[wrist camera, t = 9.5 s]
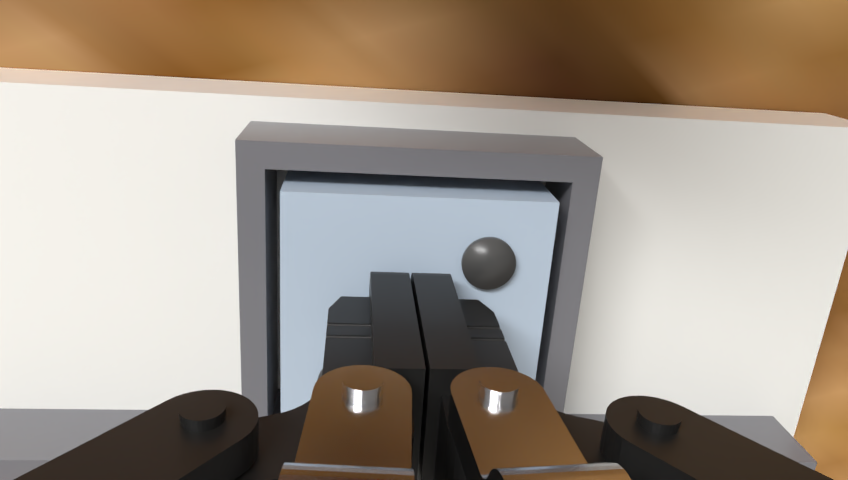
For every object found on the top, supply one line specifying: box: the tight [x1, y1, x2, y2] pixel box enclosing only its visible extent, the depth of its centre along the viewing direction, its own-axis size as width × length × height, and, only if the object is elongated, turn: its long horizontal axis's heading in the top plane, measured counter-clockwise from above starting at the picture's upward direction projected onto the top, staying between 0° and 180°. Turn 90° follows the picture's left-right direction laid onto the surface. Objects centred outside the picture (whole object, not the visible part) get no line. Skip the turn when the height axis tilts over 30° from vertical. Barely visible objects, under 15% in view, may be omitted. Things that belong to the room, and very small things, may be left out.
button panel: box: [0, 67, 848, 480], centre depth 17 cm, size 20×15×4 cm
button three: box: [280, 170, 560, 413], centre depth 14 cm, size 5×5×2 cm
